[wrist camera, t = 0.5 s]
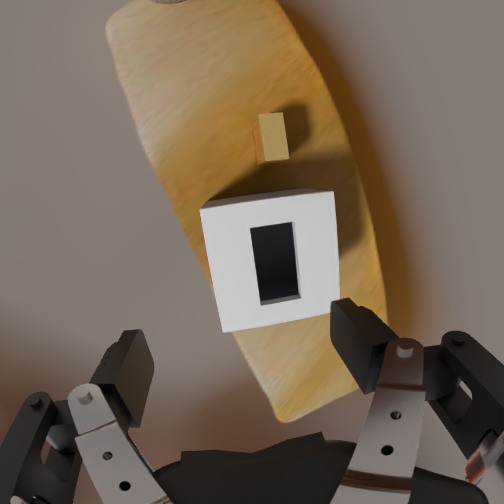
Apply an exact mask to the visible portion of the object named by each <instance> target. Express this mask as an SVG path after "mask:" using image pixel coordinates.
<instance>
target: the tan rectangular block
mask: <svg viewBox="0 0 504 504" xmlns="http://www.w3.org/2000/svg"><path fill="white" fill-rule="evenodd" d="M252 130H253V136H254V143H255V150H256V158H257V165H262V164H270V163H278V162H281V161H284V160H287V159H289V152H288V145H287V138H286V132H285V125H284V119H283V112H282V113H268V114H258V116H257V118H256V119H255V121H254V123H253V125H252Z"/></svg>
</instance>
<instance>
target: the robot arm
mask: <svg viewBox="0 0 504 504" xmlns="http://www.w3.org/2000/svg"><path fill="white" fill-rule="evenodd" d="M152 1H154V2H157V3H176V2H180V1H184V0H152ZM330 337H331V341H332V344H333V346H334V348H335V349H336V351H337V352H338V354H339V355H340V357H341V359H342V360H343V362H344V363H345V365H346V366H347V368H348V370H349V371H350V373H351V374H352V376H353V377H354V379H355V381H356V382H357V384H358V385H359V387H360V389H361V390H362V392H363V393H364V395H365V394H368V393H371V392H374V396H373V399H372V402H371V406H370V409H369V412H368V415H367V418H366V421H365V424H364V427H363V430H362V433H361V436H360V438H359V441H358V444H357V443H353V442H349V441H342V440H324V437H323V435H322V432H318V433H314V434H310V435H306V436H302V437H297V438H293V439H288V440H285V441H283V442H280V443H278V444H276V445H273V446H271V447H268V448H265V449H262V450H260V451H257V452H254V453H242V452H231V451H221V450H203V451H182V452H181V461H177V462H174V463H170V464H168V465H166V466H163V467H161V468H160V469H158V470H156V471H154V470H153V469H152V468H151V466H150V465H149V464H148V462H147V461H146V460H145V458H144V457H143V455H142V454H141V452H140V451H139V450H138V448H137V446H136V445H135V443H134V442H133V440H132V439H131V437H130V436H129V434H128V429H129V427H135V428H139V427H140V423H141V419H142V416H143V412H144V408H145V404H146V400H147V396H148V392H149V388H150V384H151V381H152V377H153V374H154V362H153V358H152V356H151V353H150V350H149V347H148V345H147V342H146V339H145V336H144V334H143V332H142V330H140V329H137V330H126V331H123V333H122V335H121V337H120V338H119V340H118V342H115V343H114V344H112V345H111V346H110V347H109V348H108V349H107V351H106V352H105V354H104V356H103V358H102V359H101V361H100V365H98V367H97V369H96V371H95V373H94V374H93V377H92V378H91V380H90V382H89V384H83V385H81V386H78V387H76V388H75V389H74V390H72V392H71V393H70V394H69V396H68V400H62V401H56V402H53V401H52V399H51V397H50V396H49V395H48V394H47V393H46V392H36V393H34V394H32V395H30V396H29V397H28V398H27V399H26V400H25V402H24V403H23V405H22V407H21V409H20V411H19V412H18V414H17V416H16V417H15V419H14V421H13V423H12V425H11V427H10V429H9V431H8V433H7V435H6V437H5V439H4V441H3V443H2V445H1V447H0V504H72V503H73V498H74V493H75V489H76V484H77V480H78V476H79V472H80V468H81V464H82V460H83V461H84V463H85V466H86V468H87V471H88V473H89V474H90V477H91V479H92V481H93V483H94V485H95V487H96V490H97V491H98V493H99V495H100V497H101V499H102V501H103V503H104V504H499V503H501V502H502V501H503V500H504V365H503V364H502V363H501V362H500V361H499V360H497V359H496V358H495V357H494V356H493V355H492V354H491V353H489V351H487V350H486V349H485V348H484V347H483V346H482V345H480V343H478V342H477V341H476V340H475V339H474V338H473V337H471V336H470V335H469V334H467V333H465V332H461V331H450V332H447V333H446V334H444V335H443V337H442V341H441V344H440V345H435V346H428V347H423V345H422V344H421V343H420V342H419V341H417V340H415V339H413V338H408V337H401V338H399V337H398V336H397V335H396V334H395V333H394V332H393V331H392V330H391V329H390V328H389V327H388V326H387V325H386V324H385V323H383V321H382V320H381V319H380V318H379V317H378V316H377V315H376V314H375V313H374V312H373V311H372V310H370V309H368V308H365V307H363V306H359V307H358V306H357V305H356V304H355V303H354V302H353V301H352V300H351V299H350V298H344V299H339V300H334V301H332V302H331V305H330ZM461 380H462V381H463V382H464V383H465V384H466V385H467V387H468V388H469V389H470V390H471V392H472V399H471V398H470V397H469V396H468V395H467V394H466V392H465V391H464V390H463V389H462V388H461V387H460V382H461ZM425 401H427V402H428V403H429V404H430V406H431V407H432V409H433V410H434V411H435V413H436V414H437V416H438V417H439V419H440V420H441V421H442V423H443V424H444V426H445V427H446V429H447V430H448V432H449V433H450V435H451V436H452V438H453V439H454V440H455V442H456V443H457V445H458V447H459V448H460V449H461V451H462V453H463V454H464V456H465V457H466V459H467V463H466V467H465V470H466V477H465V481H463V480H459V479H455V478H451V477H448V476H444V475H441V474H437V473H434V472H431V471H428V470H425V469H422V468H419V467H416V466H415V461H416V456H417V451H418V446H419V441H420V435H421V428H422V420H423V412H424V403H425ZM45 440H47V441H48V442H49V443H50V444H51V445H52V446H51V448H50V451H49V454H48V457H47V460H46V463H45V465H44V464H43V462H42V460H41V457H40V454H41V450H42V447H43V445H44V442H45Z"/></svg>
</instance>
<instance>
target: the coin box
mask: <svg viewBox="0 0 504 504" xmlns="http://www.w3.org/2000/svg"><path fill="white" fill-rule="evenodd" d="M200 215H201V221H202V227H203V233H204V238H205V244H206V249H207V255H208V260H209V266H210V271H211V276H212V281H213V286H214V291H215V296H216V301H217V306H218V311H219V315H220V320H221V325H222V330H223V332H231V331H237V330H243V329H249V328H255V327H261V326H267V325H272V324H277V323H283V322H288V321H293V320H298V319H303V318H307V317H312V316H317V315H321V314H326V313H330V305H331V302H332V301H334V300H339V299H340V294H339V259H338V240H337V225H336V212H335V200H334V191H326V190H317V189H307V188H299V189H290V190H282V191H274V192H266V193H259V194H252V195H245V196H238V197H231V198H225V199H219V200H212V201H206V202H205V204H204V205H203V206H202V207H201V209H200Z"/></svg>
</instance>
